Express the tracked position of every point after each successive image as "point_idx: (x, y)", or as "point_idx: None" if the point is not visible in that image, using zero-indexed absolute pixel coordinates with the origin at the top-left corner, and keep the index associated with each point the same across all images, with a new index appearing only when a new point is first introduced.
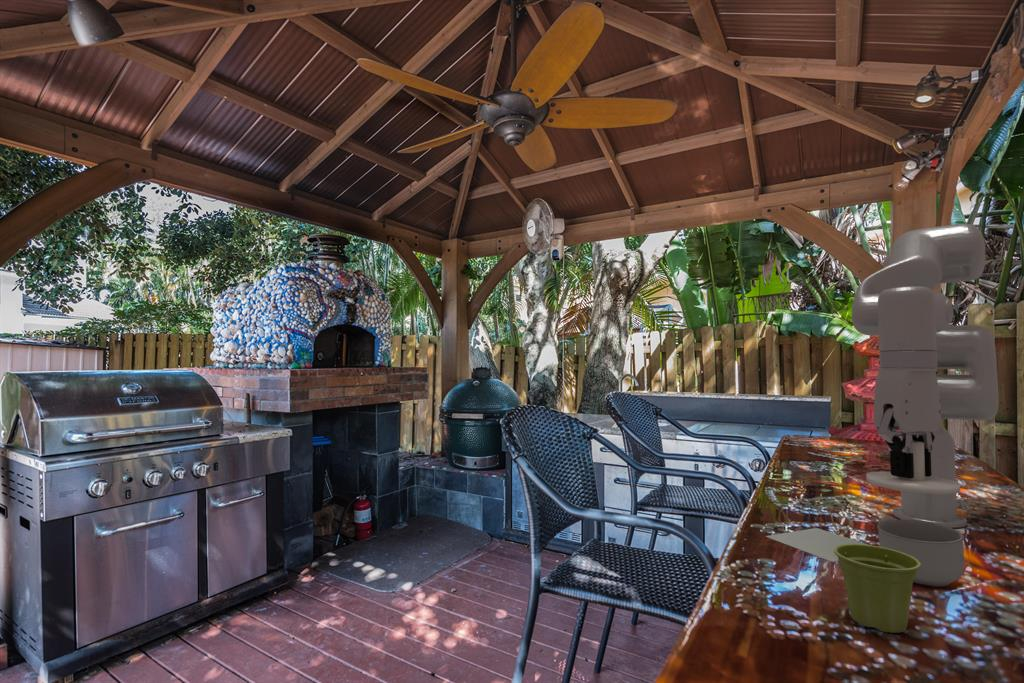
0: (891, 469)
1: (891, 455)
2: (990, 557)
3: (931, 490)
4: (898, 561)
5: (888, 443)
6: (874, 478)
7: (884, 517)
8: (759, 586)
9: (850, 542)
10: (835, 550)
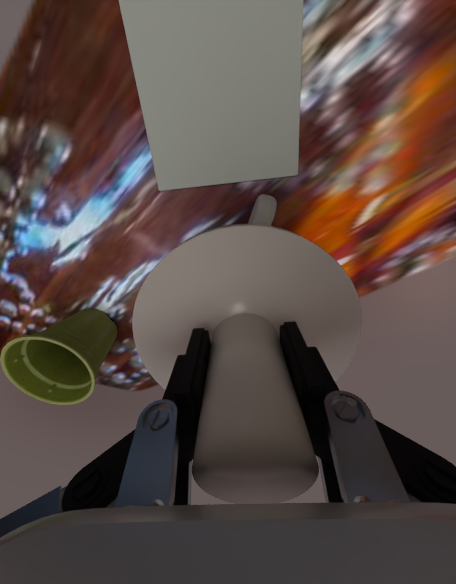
0: (191, 338)
1: (179, 379)
2: (431, 240)
3: None
4: (94, 364)
5: (104, 460)
6: (135, 314)
7: (259, 214)
8: (6, 227)
9: (277, 107)
10: (4, 349)
